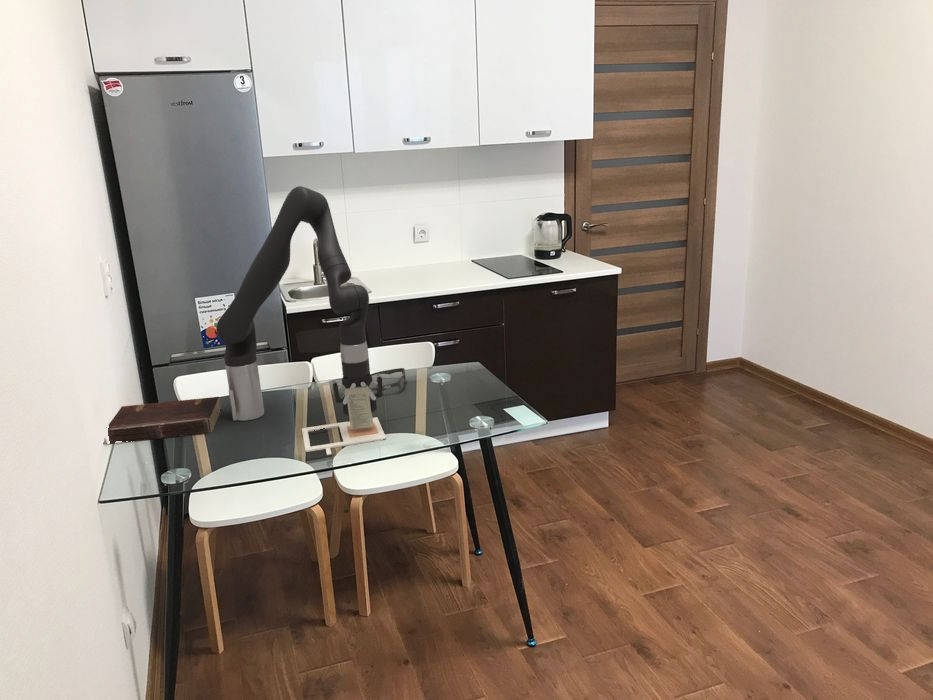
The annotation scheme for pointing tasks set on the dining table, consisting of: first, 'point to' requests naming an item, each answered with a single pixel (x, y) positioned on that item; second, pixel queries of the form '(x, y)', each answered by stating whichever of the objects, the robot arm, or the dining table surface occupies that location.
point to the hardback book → (164, 420)
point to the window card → (346, 435)
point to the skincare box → (359, 407)
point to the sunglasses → (399, 383)
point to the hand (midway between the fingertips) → (360, 413)
